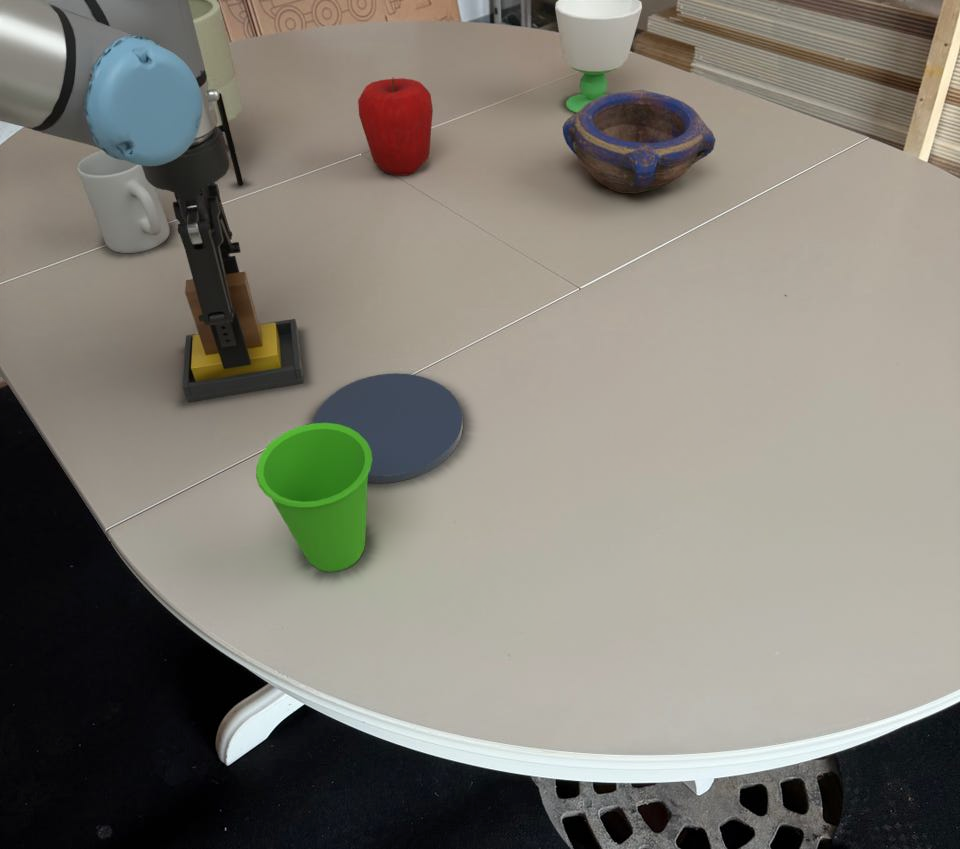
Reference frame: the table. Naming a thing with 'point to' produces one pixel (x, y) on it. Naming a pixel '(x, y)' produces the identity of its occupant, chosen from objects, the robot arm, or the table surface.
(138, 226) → the mug
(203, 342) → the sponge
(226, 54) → the planter
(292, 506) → the cup
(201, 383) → the dish
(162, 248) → the table surface
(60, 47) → the robot arm
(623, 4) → the cup
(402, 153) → the apple
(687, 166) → the bowl
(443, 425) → the plate
